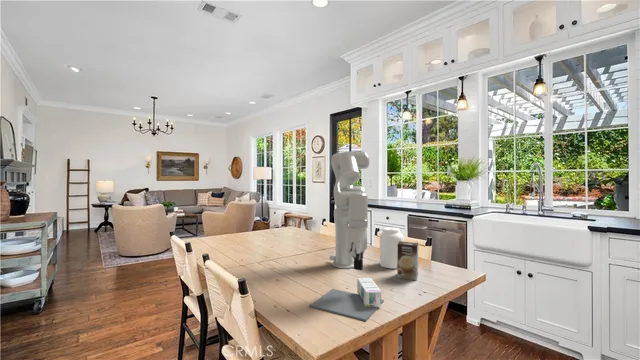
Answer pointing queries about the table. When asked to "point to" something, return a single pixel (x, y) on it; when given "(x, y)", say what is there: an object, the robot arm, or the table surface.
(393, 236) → the white bottle
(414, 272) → the coffee box
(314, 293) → the table surface
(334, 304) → the mat
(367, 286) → the syrup box
